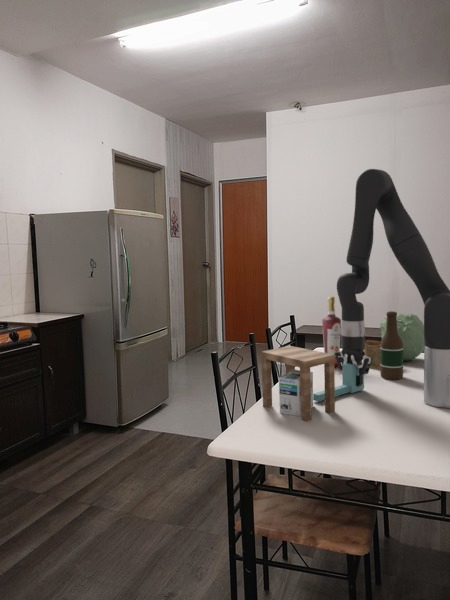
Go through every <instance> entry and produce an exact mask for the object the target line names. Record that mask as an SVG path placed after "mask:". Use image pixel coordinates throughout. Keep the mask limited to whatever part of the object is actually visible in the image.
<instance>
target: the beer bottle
mask: <svg viewBox="0 0 450 600" xmlns="http://www.w3.org/2000/svg"><path fill="white" fill-rule="evenodd" d="M397 313H398V312H397V311H387V312H386V313H385V314H386V317H387V325H386V333H385V335H384V337H383V338H382V337H381V341H380V342H381V346H380V369H379V370H380V377H381V378H382V379H383V380H388V381H400V380H401V379H403V377H404V361H403V342H402V339H401V338H400V336H399V335H398V331H397Z"/></svg>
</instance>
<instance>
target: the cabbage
mask: <svg viewBox="0 0 450 600" xmlns="http://www.w3.org/2000/svg"><path fill="white" fill-rule="evenodd" d="M386 325H387V316H386V317H385V318H384V321H383V322H380V324H379V329H380V330H381V331H380V332H379V334H381V339H382V338H383V337H384V335H385V333H386ZM397 331H398V335H399V336H400V338H401V339H402V342H403V362H405V361H407V362H408V361H412V360H415V359H416V358H417V357H419V356H420V355H421V354H422V353H423V352H424V322H423V321H422V320H421V319H420V318H419V316H418V315H417V314H412V313H411V314H410V313H409V314H405V313H401V312H397Z"/></svg>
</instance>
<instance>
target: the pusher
mask: <svg viewBox="0 0 450 600" xmlns="http://www.w3.org/2000/svg"><path fill="white" fill-rule="evenodd" d="M360 364H361V363H360ZM360 364H357V365H358V366H359V365H360ZM341 365H342V370H341V371H342V378H341V379H342V385H338V386H335V397H338V396H341V395H343V394H346V393H350V394H351V393H352V394H354V393H356V392H359V391H363V390H365V374H364V375H363V384H362V386H359V387H357V386H356V369H355V365H353V364H350V363H343V364H341ZM359 371H360V368H359ZM313 401H315V402H321V401H325V389H324V390H322V391H318V392H313Z"/></svg>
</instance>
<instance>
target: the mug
mask: <svg viewBox="0 0 450 600" xmlns="http://www.w3.org/2000/svg"><path fill="white" fill-rule="evenodd" d="M380 346H381V341H378V340H369V339H367V340H365V348H364V353H365V355H366V356H367V357H372V362H371V366H370V369H371V370H380ZM362 362H363V361H362ZM363 363H364V362H363ZM370 369H369V370H370Z"/></svg>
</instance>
